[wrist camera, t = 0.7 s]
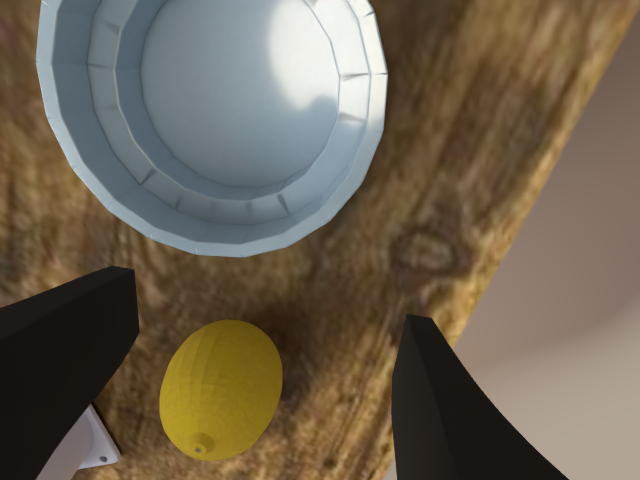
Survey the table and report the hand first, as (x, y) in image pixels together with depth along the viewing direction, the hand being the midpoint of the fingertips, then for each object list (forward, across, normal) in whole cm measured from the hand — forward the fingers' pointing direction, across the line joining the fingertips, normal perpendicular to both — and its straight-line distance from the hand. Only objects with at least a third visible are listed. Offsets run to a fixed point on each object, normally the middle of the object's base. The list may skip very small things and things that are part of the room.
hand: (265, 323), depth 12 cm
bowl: (+11, +4, -4) cm, 13 cm away
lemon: (+11, +3, +9) cm, 14 cm away
